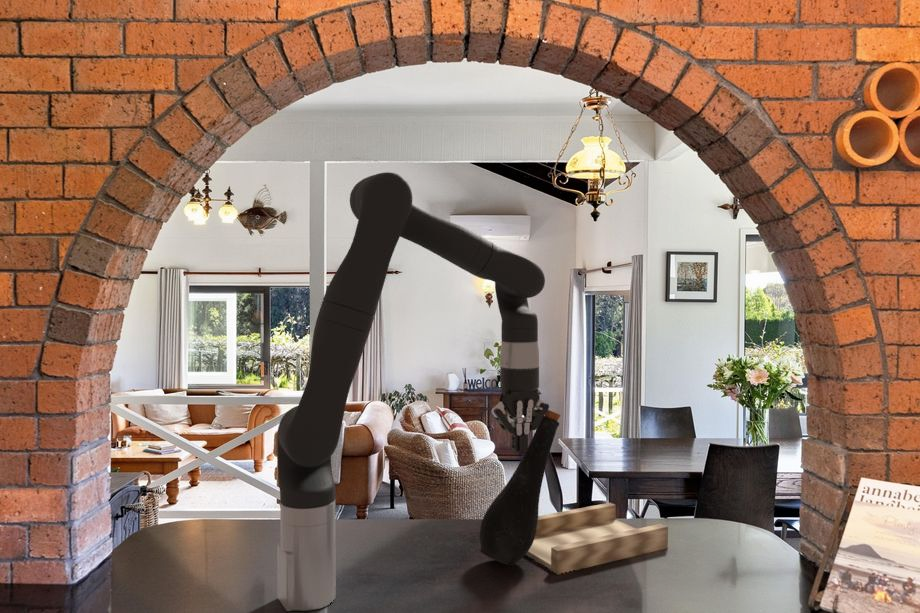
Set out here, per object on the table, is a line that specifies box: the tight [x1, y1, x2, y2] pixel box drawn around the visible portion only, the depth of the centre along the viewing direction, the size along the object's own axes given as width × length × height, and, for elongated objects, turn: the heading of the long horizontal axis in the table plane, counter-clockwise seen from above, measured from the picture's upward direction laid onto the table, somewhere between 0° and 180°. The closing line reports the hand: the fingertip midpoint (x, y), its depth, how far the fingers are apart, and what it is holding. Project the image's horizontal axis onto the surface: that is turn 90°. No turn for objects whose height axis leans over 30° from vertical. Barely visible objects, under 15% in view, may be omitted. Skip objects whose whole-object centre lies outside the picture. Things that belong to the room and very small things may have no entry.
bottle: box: [478, 409, 561, 567], centre depth 143 cm, size 11×11×30 cm
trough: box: [526, 502, 669, 575], centre depth 151 cm, size 28×18×4 cm, turn 119°
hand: (519, 453), depth 142 cm, fingers closed
